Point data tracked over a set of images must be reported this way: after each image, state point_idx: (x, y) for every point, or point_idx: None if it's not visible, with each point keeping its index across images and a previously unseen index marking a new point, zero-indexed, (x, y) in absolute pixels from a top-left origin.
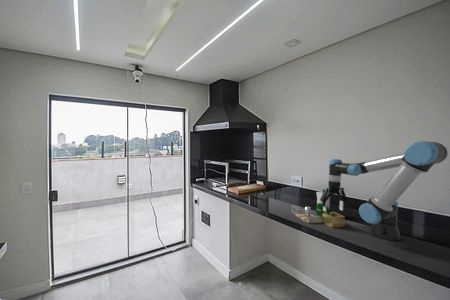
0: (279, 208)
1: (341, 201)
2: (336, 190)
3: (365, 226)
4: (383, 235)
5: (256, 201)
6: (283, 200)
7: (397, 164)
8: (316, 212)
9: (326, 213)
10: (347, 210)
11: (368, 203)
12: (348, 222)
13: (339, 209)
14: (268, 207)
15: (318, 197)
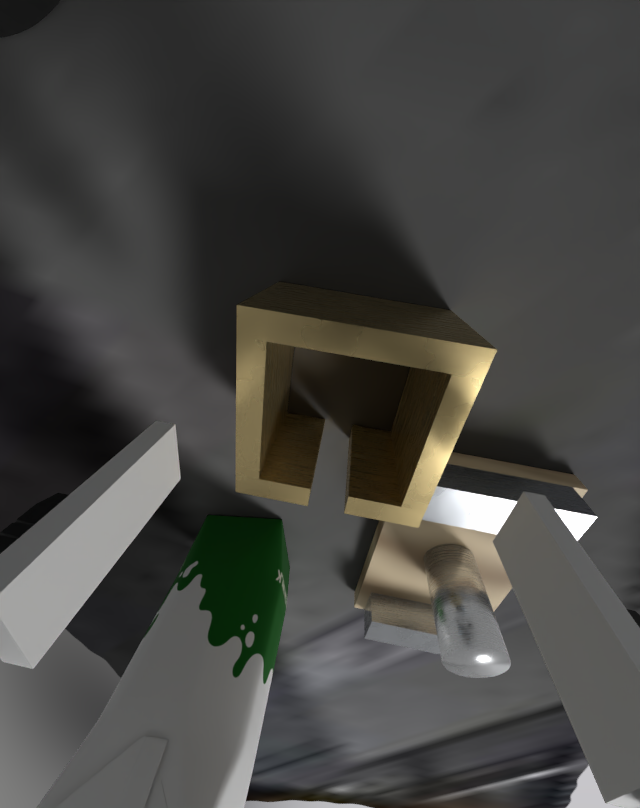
0: (457, 690)
1: (18, 625)
2: None
3: (22, 201)
4: None
5: (480, 767)
6: (309, 727)
7: None
8: (288, 577)
9: (380, 498)
10: None
11: None
12: (145, 357)
13: (179, 478)
14: (510, 717)
15: (246, 779)
